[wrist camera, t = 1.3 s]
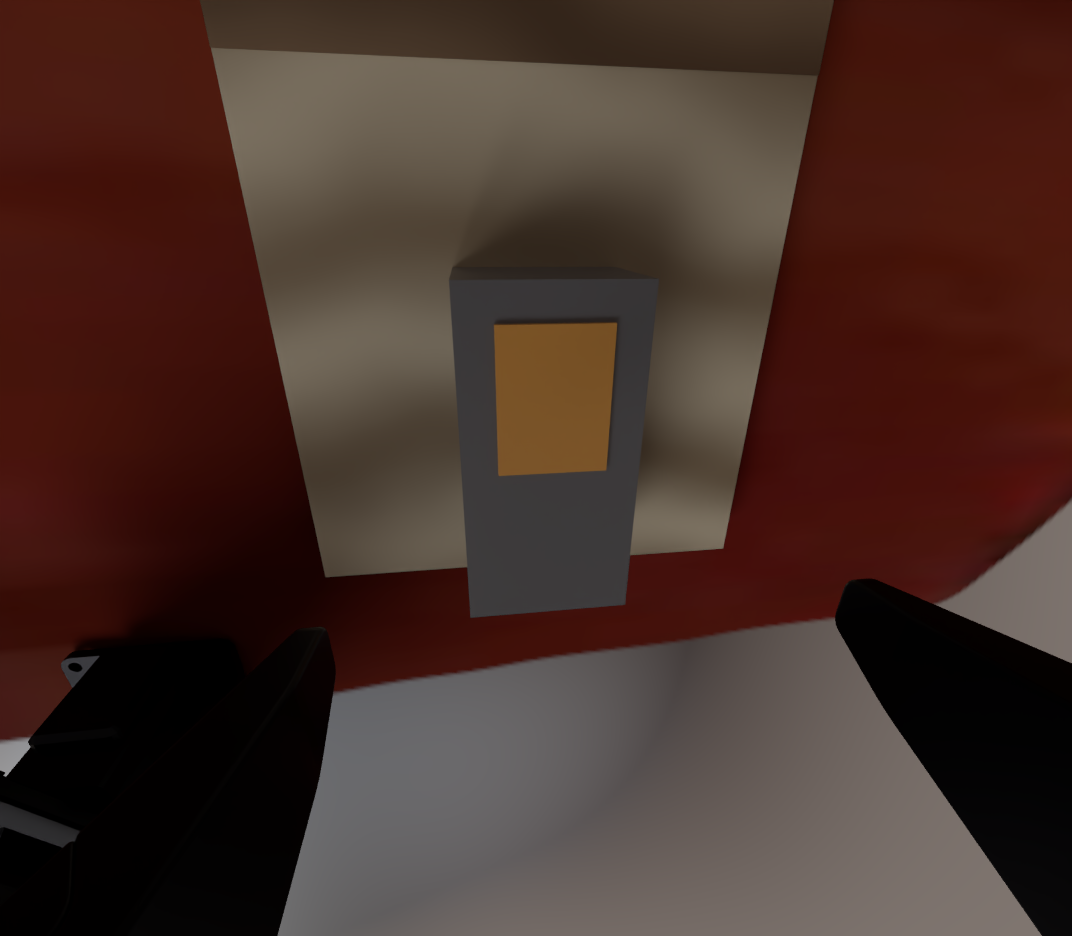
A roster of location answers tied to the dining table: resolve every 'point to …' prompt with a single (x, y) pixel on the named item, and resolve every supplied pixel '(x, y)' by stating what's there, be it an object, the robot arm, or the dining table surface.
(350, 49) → the board
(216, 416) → the dining table surface
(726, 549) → the dining table surface
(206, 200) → the dining table surface
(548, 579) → the block
